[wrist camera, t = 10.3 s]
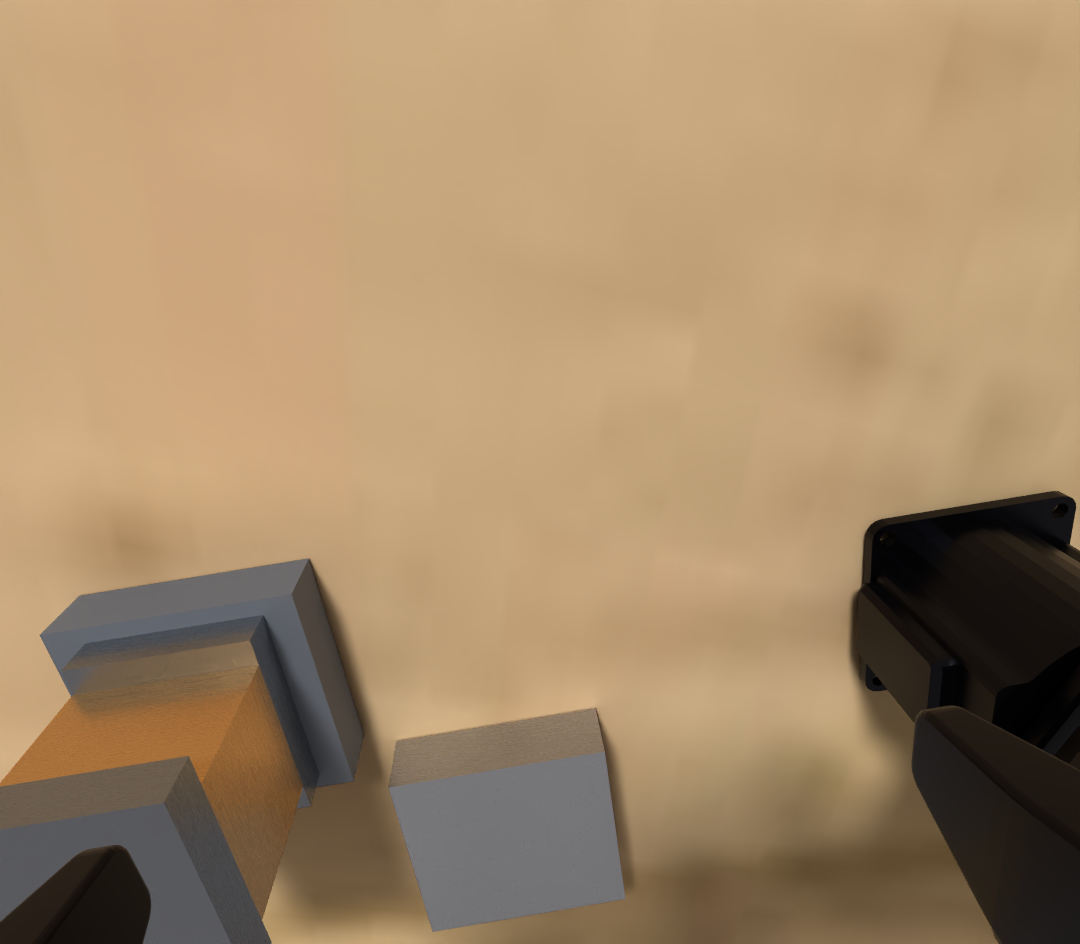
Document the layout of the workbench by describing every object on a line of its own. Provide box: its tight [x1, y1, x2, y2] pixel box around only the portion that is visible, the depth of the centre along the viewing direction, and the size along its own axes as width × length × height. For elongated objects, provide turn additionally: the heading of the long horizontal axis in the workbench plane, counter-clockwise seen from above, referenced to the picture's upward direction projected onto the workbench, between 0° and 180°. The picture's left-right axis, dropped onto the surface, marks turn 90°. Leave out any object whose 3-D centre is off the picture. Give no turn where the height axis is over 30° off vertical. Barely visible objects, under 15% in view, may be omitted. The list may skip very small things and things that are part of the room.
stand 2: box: [389, 708, 625, 932], centre depth 24 cm, size 7×7×2 cm
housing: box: [0, 615, 320, 944], centre depth 17 cm, size 6×5×6 cm
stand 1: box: [40, 559, 364, 787], centre depth 21 cm, size 7×7×2 cm
